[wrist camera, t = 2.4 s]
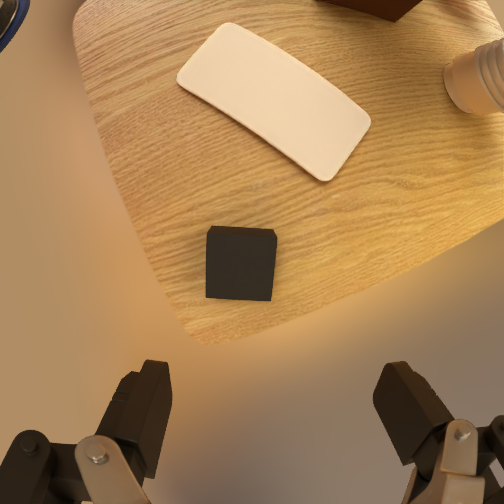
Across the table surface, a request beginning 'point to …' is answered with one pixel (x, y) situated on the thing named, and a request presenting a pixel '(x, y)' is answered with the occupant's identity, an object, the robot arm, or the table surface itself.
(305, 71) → the smartphone
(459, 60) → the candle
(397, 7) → the brown square canister
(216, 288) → the dark brown square block
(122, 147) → the table surface
